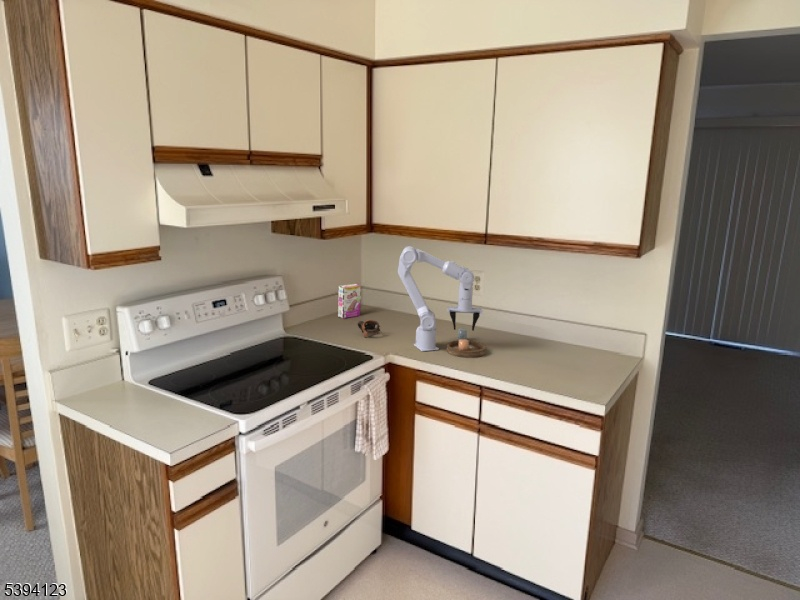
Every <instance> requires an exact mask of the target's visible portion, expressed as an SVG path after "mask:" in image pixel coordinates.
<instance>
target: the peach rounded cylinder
mask: <svg viewBox="0 0 800 600" xmlns="http://www.w3.org/2000/svg"><path fill="white" fill-rule="evenodd" d="M468 343H469V341H468V339H467V340H466V339H460V340H459V347H458V350H461V351H468Z"/></svg>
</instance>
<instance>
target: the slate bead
mask: <svg viewBox="0 0 800 600" xmlns="http://www.w3.org/2000/svg"><path fill="white" fill-rule="evenodd" d="M460 339H466V340H468V329H467V328H464V327H463V328H462V327H461V328H458V329H457V340H460Z"/></svg>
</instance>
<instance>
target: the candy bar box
mask: <svg viewBox="0 0 800 600" xmlns="http://www.w3.org/2000/svg"><path fill="white" fill-rule="evenodd" d="M337 295H338V299H337V301H338V302H337V303H338V304H337V306H338V307H337V312H338V313H337V317H338V318H340V319H344V320H345V319H349V318H355V317H361V305H362V303H361V299H362V285H360V284H357V283H352V284H344V285H338V294H337Z"/></svg>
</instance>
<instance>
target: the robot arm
mask: <svg viewBox="0 0 800 600" xmlns="http://www.w3.org/2000/svg"><path fill="white" fill-rule="evenodd" d="M416 262H417V263H427V264H428V265H429V264H430V265H432V266H434V267H436V268H438V269H441V270H442V273H443V274H444V275H446V276H448V277H450V278H452V279H455V280H459V287H458V302H457V306H451V307H450V306H447V309H446V313H448V314H449V315H450V318H451V321H452V325H453V326H452V327H453V330H454V331H455V330H456V326H457V325H456V318H457V314H459V313H460V314H472V323H471V324H472V325H471V330H472V331H473V332H474V331H475V326H476V324H477V322H478V320H479V318H480V315H483V308H479V307H473V294H474V293H473V292H474V288H473V285H474V281H475V276H474V273H473V271H472V270H470V269H469V268H468V267H465V266H461V265H460V264H458V263H456V261H454V260H448V261H443V260H442V259H440V258H438V257H436V256H434V255H432V254H430V253H428V251H424V250H421V249H420V248H415V247H414V246H410V245H409V246H405V247H404V249H402V252H401V254H400V256H399V261H398V267H397V274H398V276H399V279H400V280H401V282H402V284H403V286H404V288H405V290H406V291H407V294H408V295H409V296H408V297H409V298H410V300H411V302H412V304H413V306H414V308H415V310H416V311H417V312H416V313H417V314H418V317H419V320H420V325H419V326H417V328H416V330H415V343H413V346H414V347H416V348H417V349H418V350H420V351H421V352H428V351H438V350H440V348H439V347H437V346H436V344H437V343H436V341H437V338H436V335H437V326H436V324H437V323H436V322H437V321H436V315H435V313H434V312H433V310H431V309H430V308H429V306H428V304H427V303H426V301H425V298H424V297H423V295H422V293H421V291H420V289H419V287H418V285H417V284H416V281H415V279H414V277H413V275H412V273H411V270H412V267H413V265H414V264H415V263H416Z"/></svg>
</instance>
